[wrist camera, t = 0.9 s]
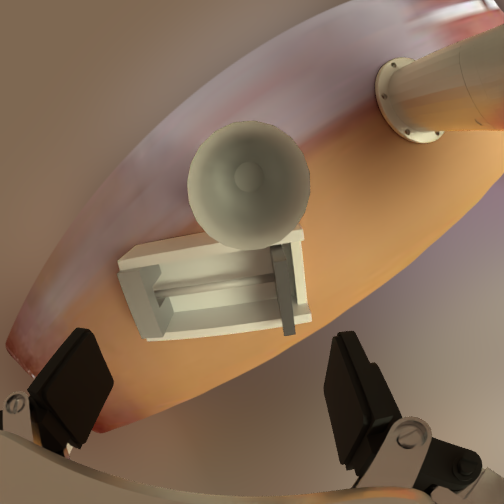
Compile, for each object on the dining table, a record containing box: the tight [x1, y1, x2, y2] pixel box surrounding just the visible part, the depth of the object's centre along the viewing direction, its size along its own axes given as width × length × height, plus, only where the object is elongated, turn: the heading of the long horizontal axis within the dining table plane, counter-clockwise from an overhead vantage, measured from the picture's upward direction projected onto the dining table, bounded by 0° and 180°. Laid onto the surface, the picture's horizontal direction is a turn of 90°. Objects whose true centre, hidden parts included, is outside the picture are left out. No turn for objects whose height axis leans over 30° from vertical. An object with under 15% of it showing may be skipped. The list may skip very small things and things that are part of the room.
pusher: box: [154, 244, 296, 336], centre depth 30 cm, size 17×8×9 cm, turn 100°
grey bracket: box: [117, 223, 312, 341], centre depth 32 cm, size 21×11×7 cm, turn 100°
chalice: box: [187, 121, 310, 250], centre depth 23 cm, size 7×7×18 cm
